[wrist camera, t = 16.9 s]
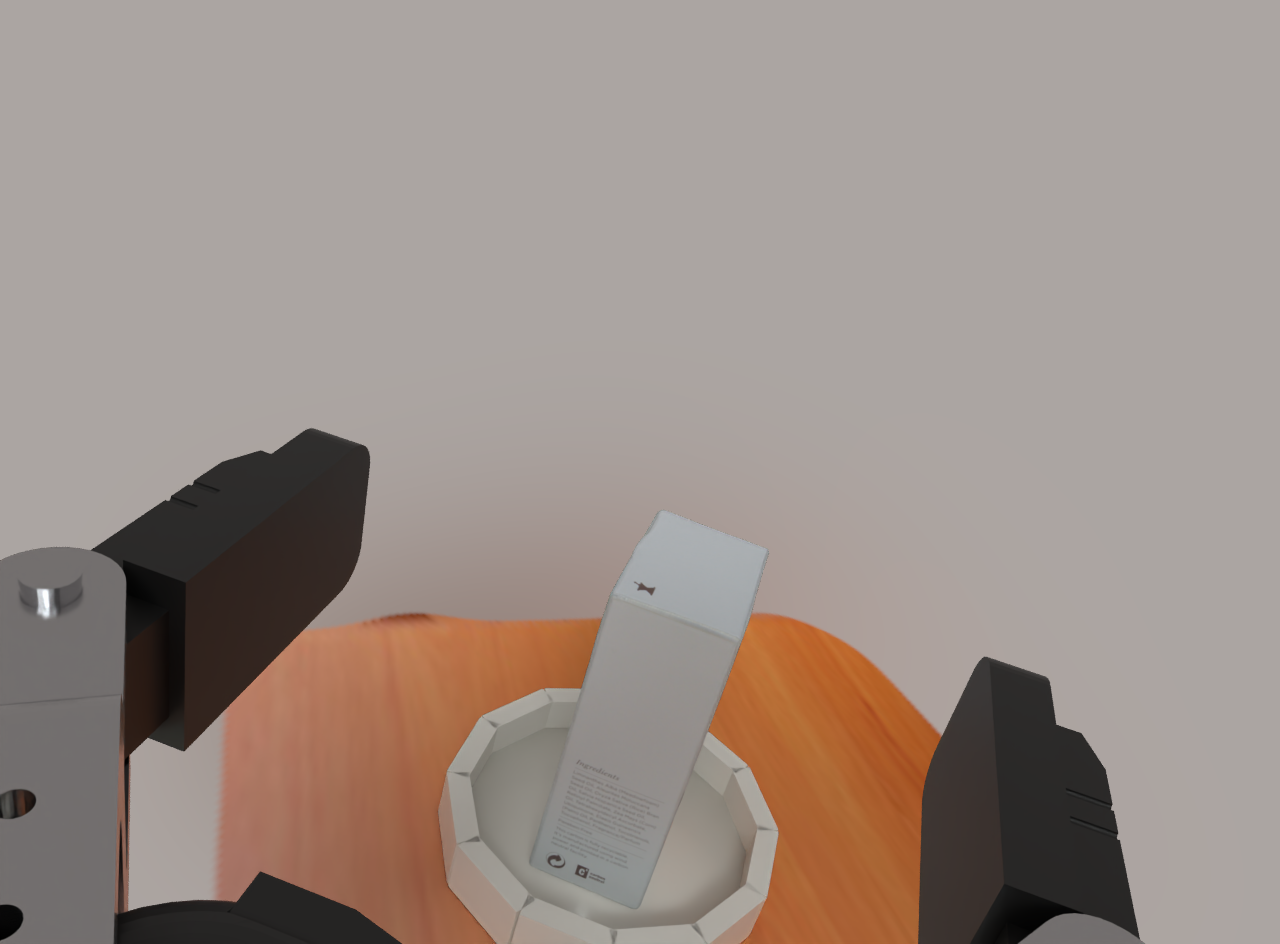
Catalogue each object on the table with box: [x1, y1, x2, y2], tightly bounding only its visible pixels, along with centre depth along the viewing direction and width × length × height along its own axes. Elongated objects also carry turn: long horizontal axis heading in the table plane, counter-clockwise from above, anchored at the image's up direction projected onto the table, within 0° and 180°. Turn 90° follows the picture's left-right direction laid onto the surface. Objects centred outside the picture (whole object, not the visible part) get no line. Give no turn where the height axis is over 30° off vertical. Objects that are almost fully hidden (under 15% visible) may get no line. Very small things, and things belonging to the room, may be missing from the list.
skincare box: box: [529, 510, 769, 909], centre depth 36 cm, size 6×4×12 cm
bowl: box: [438, 688, 779, 944], centre depth 38 cm, size 12×12×2 cm
